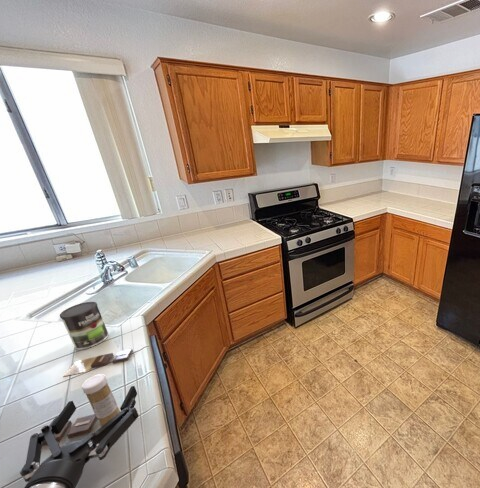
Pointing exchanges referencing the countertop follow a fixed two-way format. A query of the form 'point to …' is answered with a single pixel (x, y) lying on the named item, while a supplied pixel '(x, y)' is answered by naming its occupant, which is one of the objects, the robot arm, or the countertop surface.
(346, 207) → the countertop surface
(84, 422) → the brown chocolate squares
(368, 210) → the countertop surface
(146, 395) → the countertop surface
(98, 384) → the sprinkles bottle
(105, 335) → the coffee can
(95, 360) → the chocolate bar
